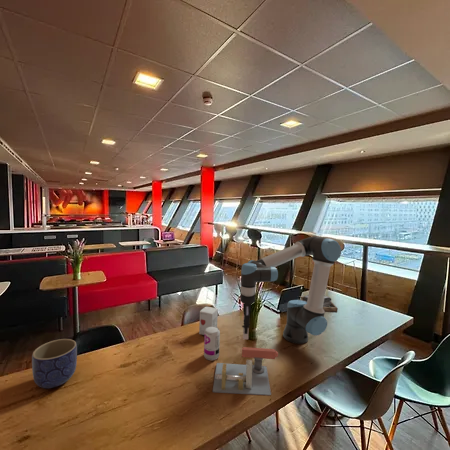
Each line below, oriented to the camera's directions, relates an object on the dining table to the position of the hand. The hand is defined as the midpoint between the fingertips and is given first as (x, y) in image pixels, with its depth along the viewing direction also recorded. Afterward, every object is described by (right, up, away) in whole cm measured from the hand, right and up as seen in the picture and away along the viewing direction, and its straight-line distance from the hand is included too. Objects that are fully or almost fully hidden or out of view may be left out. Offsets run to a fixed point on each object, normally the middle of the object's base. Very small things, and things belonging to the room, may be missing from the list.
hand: (245, 338), depth 127 cm
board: (-3, -14, -12) cm, 19 cm away
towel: (+67, -8, +80) cm, 105 cm away
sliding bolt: (-7, -12, -18) cm, 23 cm away
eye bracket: (-7, -13, -18) cm, 23 cm away
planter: (-87, -12, -16) cm, 89 cm away
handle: (+7, -6, -7) cm, 11 cm away
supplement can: (-18, -12, +5) cm, 22 cm away
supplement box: (-21, -10, +30) cm, 38 cm away
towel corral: (+67, -9, +80) cm, 105 cm away
